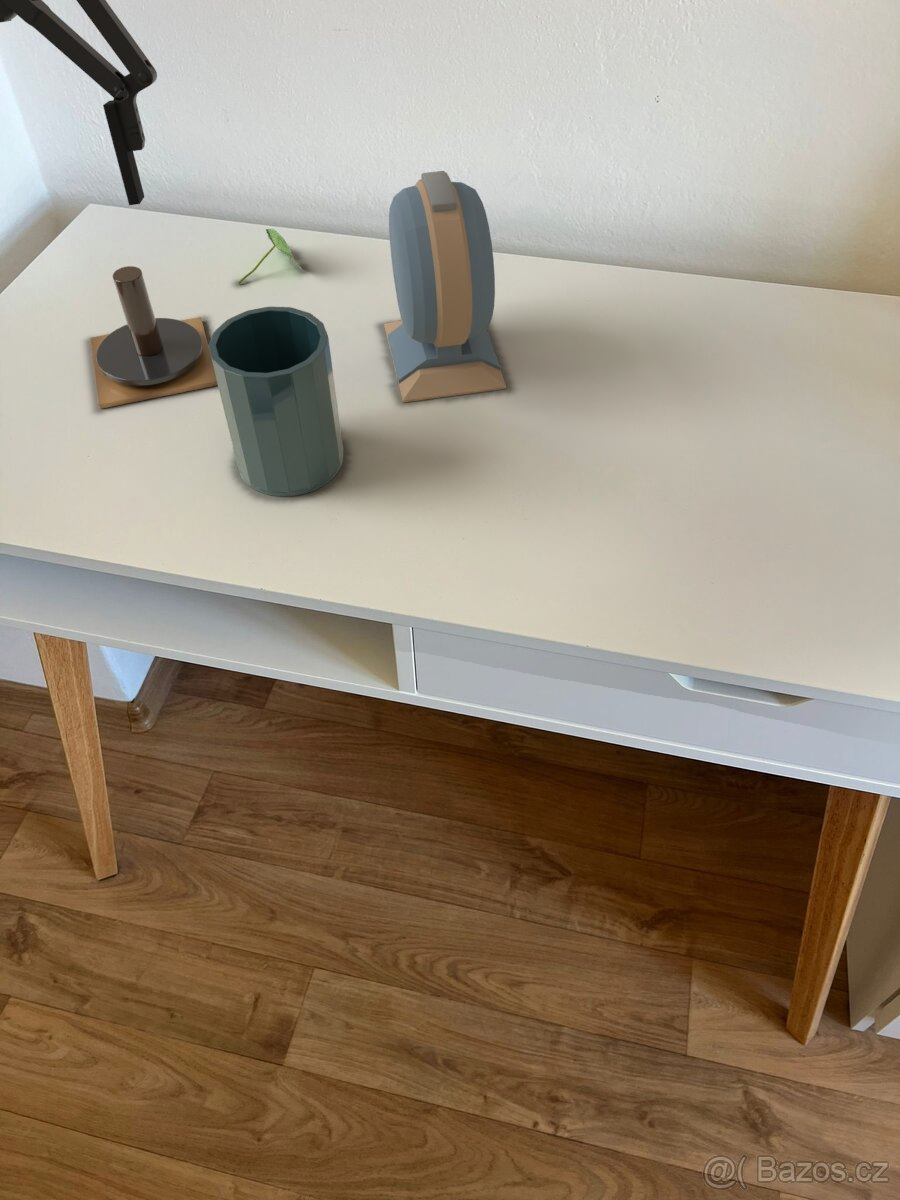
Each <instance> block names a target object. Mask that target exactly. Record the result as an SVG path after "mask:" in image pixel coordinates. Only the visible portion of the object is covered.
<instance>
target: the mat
mask: <svg viewBox="0 0 900 1200" xmlns="http://www.w3.org/2000/svg"><path fill="white" fill-rule="evenodd" d="M181 321H183V322H185V323H187V324H189V325H191V326H192V327H194V328H195V329H196V330H197V331H198V333H199V334H200V336H201V339H202V343H203V351H202V354H201V357H200V359H199V360H198V362H197V363H196V364H195V365H194V366H193V367H192V368H191V369H190V370H188V371H187V372H185V373H184V374H182V375H180V376H179V377H176V378H174V379H172V380H169V381H166V382H163V383H159V384H153V385H145V386H135V385H126V384H122V383H118V382H115V381H113V380H111V379H109V378H108V377H107V376H105V375H104V374H103V373H102V372H101V370H100V368H99V366H98V363H97V358H96V355H97V350H98V347H99V346H100V344H101V343H102V341H103V340H104V339H105V338H106V337H107V336H108V335H109V334H110V333H108V334H102V335H98V336H92V337H90V346H91V354H92V362H93V369H94V379H95V385H96V395H97V402H98V407H99V409H101V410H103V409H107V408H111V407H116V406H121V405H122V406H123V405H127V404H131V403H136V402H142V401H147V400H152V399H156V398H163V397H166V396H171V395H172V396H173V395H176V394H182V393H186V392H192V391H196V390H201V389H206V388H210V387H216V386H217V387H218V384H217V380H216V376H215V372H214V368H213V364H212V359H211V355H210V351H209V347H208V345H209V342H208V339H207V335H206V332H205V327H204V323H203V319H202V317H201V316H197V317H193V318H187V319H181Z"/></svg>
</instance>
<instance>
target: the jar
mask: <svg viewBox="0 0 900 1200" xmlns="http://www.w3.org/2000/svg"><path fill="white" fill-rule="evenodd" d="M329 339H330V338H329V333H328V331H327V329H326V327H325V324H324V323H323V321H321V320H320V319H319V318H317V317H316V316H315V315H314V314H312V313H311V312H308V311H304V310H301V309H298V308H295V307H291V306H264V307H259V308H254V309H248V310H245V311H243V312H241V313H239V314H237V315H234V316H232V317H230V318H228V319H226V320H225V321H224V322H222V323H221V325H219V327H217V328H216V329H215V330H214V331H213V333H212V336H211V338H210V340H209V342H208V347H209V351H210V355H211V359H212V364H213V368H214V372H215V376H216V380H217V384H218V385H217V388H218V391H219V396H220V399H221V404H222V409H223V412H224V416H225V421H226V425H227V429H228V433H229V437H230V441H231V445H232V449H233V453H234V457H235V462H236V465H237V470H238V473H239V476H240V477H241V479H242V480H243V481H244V483H245V484H246V485H247V486H249V488H252V489H253V490H254V491H256V492H258V493H262V494H265V495H268V496H273V497H294V496H295V497H296V496H301V495H305V494H308V493H311V492H314V491H316V490H318V489H321V488H322V487H324V486H326V485H327V484H328V483H329V482H331V481H332V480H333V479H334V478H335V477H336V476H337V474H338V473H339V471H340V469H342V468H341V467H342V466H343V462H344V444H343V437H342V430H341V421H340V414H339V408H338V399H337V392H336V385H335V378H334V369H333V361H332V354H331V347H330V340H329Z"/></svg>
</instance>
